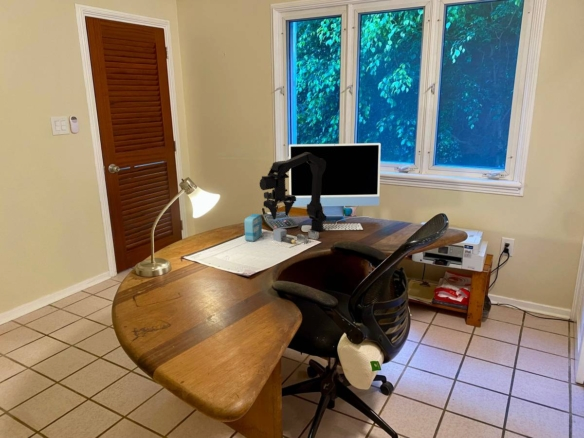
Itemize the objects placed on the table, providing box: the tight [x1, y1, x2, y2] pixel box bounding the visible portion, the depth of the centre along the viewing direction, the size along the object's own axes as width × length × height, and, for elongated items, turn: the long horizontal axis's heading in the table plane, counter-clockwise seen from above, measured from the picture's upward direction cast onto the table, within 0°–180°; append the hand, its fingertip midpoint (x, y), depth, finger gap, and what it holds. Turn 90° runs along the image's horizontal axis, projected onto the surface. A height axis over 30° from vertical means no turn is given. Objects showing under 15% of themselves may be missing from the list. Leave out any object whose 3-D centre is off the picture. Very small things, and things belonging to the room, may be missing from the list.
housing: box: [296, 229, 320, 245], centre depth 221 cm, size 12×5×4 cm, turn 138°
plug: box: [272, 227, 297, 244], centre depth 218 cm, size 4×13×6 cm, turn 48°
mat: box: [269, 239, 303, 249], centre depth 218 cm, size 9×14×1 cm, turn 48°
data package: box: [244, 213, 263, 242], centre depth 224 cm, size 12×4×12 cm, turn 162°
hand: (280, 217), depth 221 cm, fingers open, 9 cm apart
